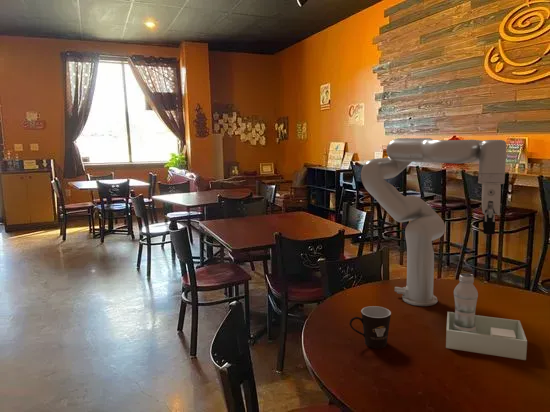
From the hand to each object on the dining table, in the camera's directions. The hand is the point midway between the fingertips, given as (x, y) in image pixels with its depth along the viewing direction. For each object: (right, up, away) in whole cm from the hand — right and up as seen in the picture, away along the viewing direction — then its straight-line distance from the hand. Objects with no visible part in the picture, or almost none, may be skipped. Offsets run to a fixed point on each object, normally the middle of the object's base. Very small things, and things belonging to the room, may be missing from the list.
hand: (488, 230), depth 136 cm
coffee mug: (-41, -33, -10) cm, 54 cm away
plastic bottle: (-13, -32, -11) cm, 37 cm away
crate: (-9, -33, -14) cm, 37 cm away
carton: (-4, -32, -16) cm, 36 cm away
